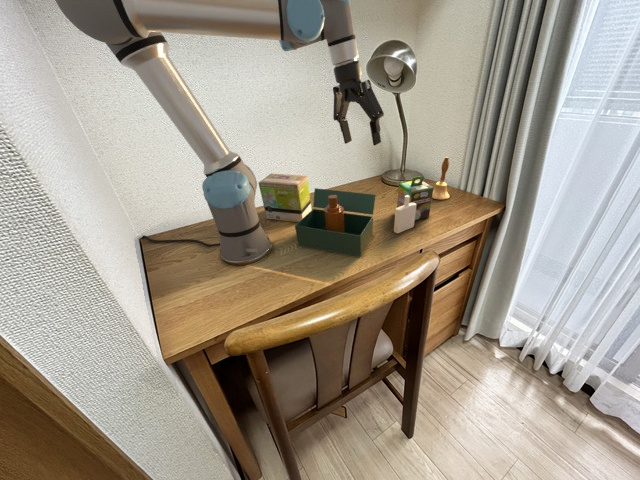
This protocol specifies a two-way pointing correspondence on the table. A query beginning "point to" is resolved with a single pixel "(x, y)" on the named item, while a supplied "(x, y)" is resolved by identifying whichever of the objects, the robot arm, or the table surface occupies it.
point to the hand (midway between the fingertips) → (362, 143)
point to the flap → (346, 200)
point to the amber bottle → (334, 215)
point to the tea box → (285, 197)
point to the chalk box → (416, 196)
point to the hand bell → (442, 183)
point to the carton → (335, 233)
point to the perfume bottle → (405, 216)
